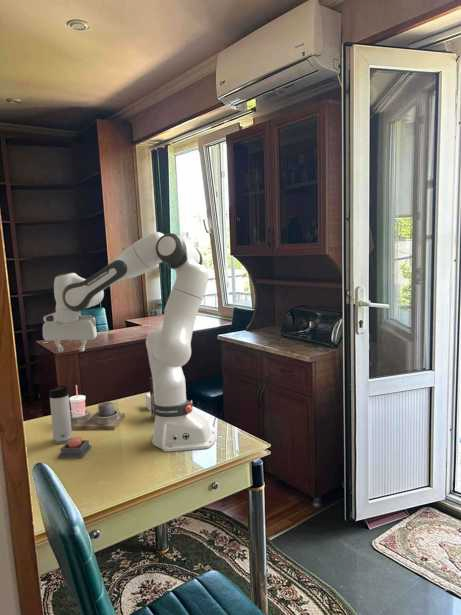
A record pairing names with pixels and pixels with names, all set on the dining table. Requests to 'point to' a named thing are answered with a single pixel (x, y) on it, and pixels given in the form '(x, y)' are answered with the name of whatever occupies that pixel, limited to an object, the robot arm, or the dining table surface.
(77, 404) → the beverage cup
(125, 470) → the dining table surface
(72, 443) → the button
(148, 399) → the adhesive note
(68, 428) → the travel mug
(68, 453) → the button housing
